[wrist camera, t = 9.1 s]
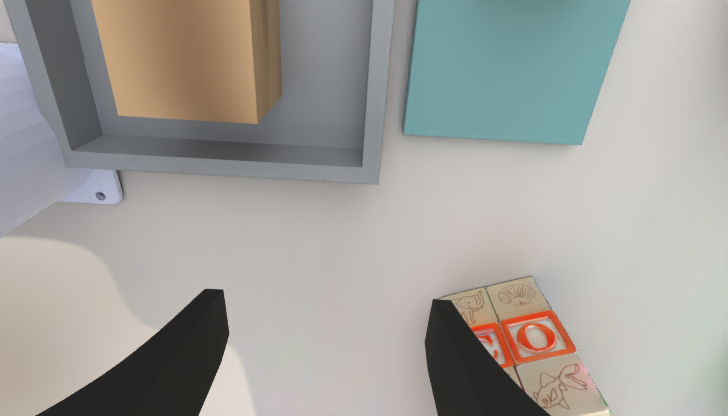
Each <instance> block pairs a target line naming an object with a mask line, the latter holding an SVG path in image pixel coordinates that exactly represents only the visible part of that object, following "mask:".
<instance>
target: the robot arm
mask: <svg viewBox="0 0 728 416" xmlns="http://www.w3.org/2000/svg"><path fill="white" fill-rule="evenodd" d="M84 62H85V60H84ZM85 65H86V63H85ZM86 69H87V67H86ZM87 73H88V70H87ZM88 77H89V74H88ZM89 81H90V78H89ZM90 85H91V82H90ZM91 88H92V86H91ZM92 92H93V90H92ZM93 96H94V93H93ZM94 100H95V97H94ZM95 104H96V101H95ZM96 108H97V105H96ZM97 111H98V109H97ZM98 115H99V113H98ZM99 119H100V117H99ZM100 123H101V120H100ZM101 127H102V124H101ZM102 131H103V128H102ZM103 134H104V132H103ZM100 192H102V193H103V194H104V195H105V196H106V197H103V196H102V195H101V194H100ZM122 198H123V193H122V189H121V186H120V182H119V178H118V174H117V170H106V169H88V168H70V167H65V162H64V158H63V153H62V149H61V147H60V145H59V142H58V140H57V138H56V135H55V134H54V132H53V131H52V129H51V127H50V126H49V124H48V123H47V121H46V120H45V118H44V117H43V116H42V115H41V113H40V110H39V107H38V104H37V101H36V98H35V95H34V92H33V89H32V86H31V83H30V80H29V77H28V74H27V71H26V68H25V64H24V61H23V58H22V55H21V52H20V49H19V46H18V44H15V43H0V238H2V237H3V236H5V235H6V234H8V233H9V232H11V231H12V230H14V229H15V228H17V227H19V226H20V225H22V224H23V223H25V222H26V221H28V220H29V219H31V218H32V217H34V216H35V215H37V214H38V213H40V212H41V211H43V210H44V209H46V208H47V207H49V206H50V205H52V204H53V203H55V202H74V203H93V204H112V205H113V204H117V203H119V202H120V201H121V200H122ZM228 337H229V328H228V320H227V313H226V306H225V299H224V291H223V290H219V289H205V290H203V291H202V292H201V293H200V294H199V295H198V296H197V297H196V298H195V299H193V300H192V301H191V302H190V303H189V304H188V305H187V306H186V307H185V308H184V309H183V310H182V311H181V312H180V313H178V314H177V315H176V316H175V317H174V318H173V319H172V320H171V321H170V322H169V323H167V324H166V325H165V326H164V327H163V328H162V329H161V330H160V331H159V332H157V333H156V334H155V335H154V336H153V337H151V338H150V339H149V340H148V341H147V342H146V343H144V344H143V345H142V346H140V347H139V348H138V349H137V350H136V351H134V352H133V353H132V354H131V355H129V356H128V357H127V358H125V359H124V360H123V361H122V362H120V363H119V364H117V365H116V366H115V367H113V368H112V369H110V370H109V371H107V372H106V373H105V374H103V375H102V376H100V377H99V378H97V379H96V380H94V381H93V382H91V383H89V384H88V385H86V386H85V387H83V388H81V389H80V390H78V391H77V392H75V393H74V394H72V395H70V396H69V397H67V398H66V399H64V400H62V401H61V402H59V403H57V404H55V405H54V406H52V407H50V408H48V409H47V410H45V411H43V412H41V413H39V414H38V415H36V416H198V415H199V413H200V411H201V408H202V406H203V404H204V401H205V399H206V397H207V394H208V392H209V390H210V387H211V385H212V383H213V380H214V378H215V376H216V373H217V371H218V369H219V366H220V364H221V361H222V357H223V354H224V351H225V348H226V344H227V340H228ZM425 349H426V358H427V367H428V373H429V378H430V382H431V386H432V391H433V395H434V400H435V404H436V408H437V413H438V416H551V415H550V414H549V413H548V412H546V411H545V410H544V409H543V408H542V407H541V406H539V405H538V404H537V403H536V402H535V401H534V400H533V399H532V398H531V397H530V396H529V395H528V394H527V393H526V392H525V391H524V390H523V389H522V388H521V387H520V386H519V385H518V384H517V383H516V382H515V381H514V380H513V379H512V378H511V377H510V376H509V375H508V374H507V373H506V372H505V371H504V369H503V368H502V367H501V366H500V365H499V364H498V362H497V361H496V360H495V359H494V358H493V357H492V355H491V354H490V353H489V352H488V350H487V349H486V348H485V347H484V345H483V344H482V343H481V341H480V340H479V339H478V338H477V336H476V335H475V334H474V332H473V331H472V330H471V328H470V327H469V325H468V324H467V323H466V321H465V320H464V318H463V317H462V316H461V314H460V313H459V311H458V310H457V308H456V307H455V305H454V304H453V303H452V301H451V300H438V299H433V301H432V307H431V312H430V317H429V322H428V328H427V333H426V338H425Z"/></svg>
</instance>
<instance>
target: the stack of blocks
mask: <svg viewBox="0 0 728 416" xmlns="http://www.w3.org/2000/svg"><path fill="white" fill-rule="evenodd" d="M439 300H451V301H452V303H453V304H454V305H455V307H456V308H457V310H458V311H459V313H460V314H461V316H462V317H463V318H464V320H465V321H466V323H467V324H468V325H469V327H470V328H471V330H472V331H473V332H474V334H475V335H476V336H477V338H478V339H479V340H480V341H481V343H482V344H483V345H484V347H485V348H486V349H487V350H488V352H489V353H490V354H491V355H492V357H493V358H494V359H495V360H496V361H497V362H498V364H499V365H500V366H501V367H502V368H503V369H504V371H505V372H506V373H507V374H508V375H509V376H510V377H511V378H512V379H513V380H514V381H515V382H516V383H517V384H518V385H519V386H520V387H521V388H522V389H523V390H524V391H525V392H526V393H527V394H528V395H529V396H530V397H531V398H532V399H533V400H534V401H535V402H536V403H537V404H538V405H539V406H541V407H542V408H543V409H544V410H545V411H546V412H548V413H549V414H550V415H551V416H611V411H610V409H609V407H608V405H607V403H606V402H605V400H604V398H603V397H602V395H601V393H600V391H599V390H598V388H597V386H596V385H595V383H594V382H593V380H592V378H591V377H590V375H589V373H588V372H587V370H586V368H585V366H584V365H583V363H582V362H581V360H580V358H579V357H578V355H577V349H576V347H575V345H574V344H573V342H572V340H571V339H570V337H569V335H568V334H567V332H566V330H565V329H564V327H563V325H562V324H561V322H560V321H559V319H558V317H557V316H556V314H555V312H554V311H552V308H551V307H550V305H549V303H548V302H547V300H546V299H545V297H544V295H543V293H542V292H541V290H540V289H539V287H538V285H537V284H536V282H535V280H534V279H533V277H532V276H531V277H526V278H522V279H518V280H513V281H509V282H505V283H500V284H496V285H492V286H488V287H486V288H483V287H482V288H477V289H474V290H469V291H465V292H461V293H457V294H453V295H449V296H445V297H442V298H440V299H439Z"/></svg>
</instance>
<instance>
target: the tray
mask: <svg viewBox="0 0 728 416" xmlns="http://www.w3.org/2000/svg"><path fill="white" fill-rule="evenodd" d="M3 1H4V4H5V7H6V10H7V13H8V16H9V19H10V22H11V25H12V28H13V31H14V34H15V37H16V40H17V43H18V46H19V49H20V52H21V55H22V58H23V61H24V64H25V68H26V71H27V74H28V77H29V80H30V83H31V86H32V89H33V92H34V95H35V98H36V101H37V104H38V107H39V110H40V113H41V115H42V116H43V117H44V118H45V120H46V121H47V123H48V124H49V126H50V127H51V129H52V131H53V132H54V134H55V135H56V138H57V140H58V142H59V145H60V147H61V149H62V153H63V158H64V162H65V167H70V168H88V169H106V170H124V171H142V172H160V173H178V174H196V175H214V176H232V177H250V178H268V179H287V180H305V181H323V182H341V183H359V184H377V185H378V184H379V172H380V161H381V150H382V138H383V127H384V116H385V104H386V93H387V82H388V70H389V59H390V48H391V36H392V25H393V14H394V2H395V0H279V16H280V44H281V72H282V96H281V97H280V98H279V99H278V100H277V102H276V103H275V104H274V105H273V106H272V108H271V109H270V110H269V111H268V112H267V113H266V115H265V116H264V117H263V118H262V119H261V121H260V122H259V123H258V124H249V123H232V122H216V121H199V120H182V119H166V118H149V117H132V116H118V112H117V107H116V103H115V99H114V95H113V90H112V86H111V82H110V78H109V74H108V69H107V65H106V61H105V57H104V52H103V48H102V44H101V40H100V35H99V31H98V27H97V23H96V19H95V14H94V10H93V6H92V2H91V0H3ZM84 60H85V62H84ZM85 63H86V65H85ZM86 67H87V69H86ZM87 70H88V73H87ZM88 74H89V77H88ZM89 78H90V81H89ZM90 82H91V85H90ZM91 86H92V88H91ZM92 90H93V92H92ZM93 93H94V96H93ZM94 97H95V100H94ZM95 101H96V104H95ZM96 105H97V108H96ZM97 109H98V111H97ZM98 113H99V115H98ZM99 117H100V119H99ZM100 120H101V123H100ZM101 124H102V127H101ZM102 128H103V131H102ZM103 132H104V134H103Z"/></svg>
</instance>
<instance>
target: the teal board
mask: <svg viewBox="0 0 728 416" xmlns="http://www.w3.org/2000/svg"><path fill="white" fill-rule="evenodd" d="M630 1H631V0H417V3H416V12H415V21H414V30H413V39H412V48H411V57H410V65H409V74H408V83H407V92H406V101H405V110H404V119H403V128H402V130H403V134H405V135H421V136H438V137H455V138H471V139H488V140H505V141H522V142H538V143H555V144H572V145H582V142H583V139H584V136H585V133H586V130H587V127H588V124H589V121H590V118H591V115H592V112H593V109H594V106H595V104H596V101H597V98H598V95H599V92H600V89H601V86H602V83H603V80H604V77H605V74H606V71H607V68H608V65H609V62H610V59H611V57H612V54H613V51H614V48H615V45H616V42H617V39H618V36H619V33H620V30H621V27H622V24H623V21H624V18H625V15H626V12H627V10H628V7H629V4H630Z"/></svg>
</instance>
